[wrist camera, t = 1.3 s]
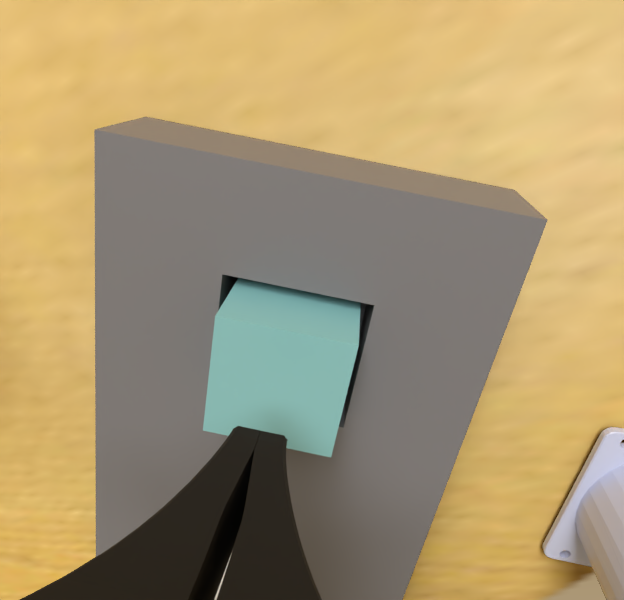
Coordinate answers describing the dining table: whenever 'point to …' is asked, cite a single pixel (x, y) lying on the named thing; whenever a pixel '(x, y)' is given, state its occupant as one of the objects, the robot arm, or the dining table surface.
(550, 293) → the dining table surface
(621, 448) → the robot arm
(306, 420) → the teal key
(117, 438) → the panel
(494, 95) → the dining table surface
